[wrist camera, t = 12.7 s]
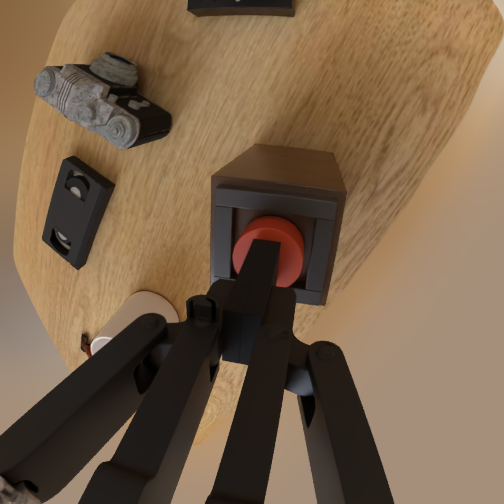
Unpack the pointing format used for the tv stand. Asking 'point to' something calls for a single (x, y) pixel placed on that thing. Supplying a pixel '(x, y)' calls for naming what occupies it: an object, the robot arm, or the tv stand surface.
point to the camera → (104, 100)
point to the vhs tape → (76, 210)
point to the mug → (134, 315)
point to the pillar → (280, 210)
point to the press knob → (279, 232)
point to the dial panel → (241, 7)
